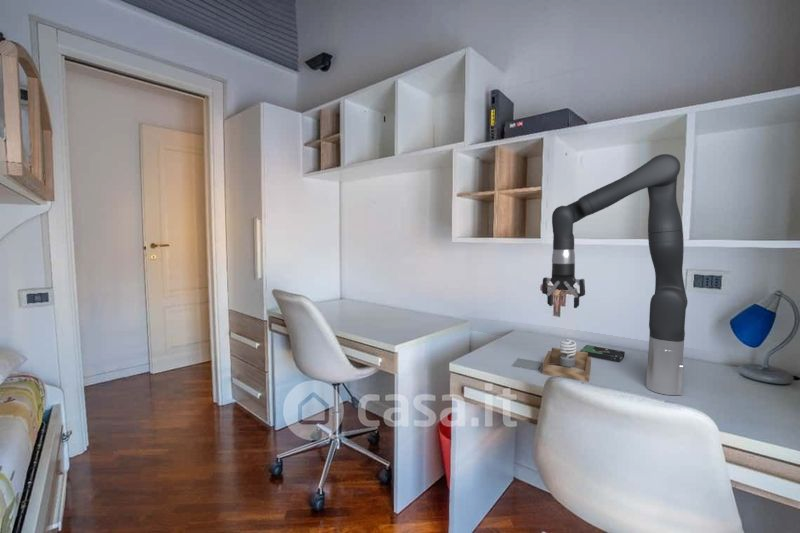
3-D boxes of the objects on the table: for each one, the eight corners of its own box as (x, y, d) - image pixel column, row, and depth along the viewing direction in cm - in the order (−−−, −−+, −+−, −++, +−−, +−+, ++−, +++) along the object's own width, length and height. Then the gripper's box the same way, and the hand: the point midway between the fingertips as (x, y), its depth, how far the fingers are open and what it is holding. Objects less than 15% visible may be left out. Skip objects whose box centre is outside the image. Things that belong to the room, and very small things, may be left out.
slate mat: (541, 363, 149) (541, 361, 149) (537, 370, 142) (538, 368, 141) (518, 359, 154) (518, 358, 154) (513, 366, 146) (513, 364, 146)
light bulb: (575, 374, 137) (577, 342, 136) (558, 372, 139) (560, 340, 138) (574, 369, 143) (576, 338, 142) (558, 367, 145) (560, 336, 144)
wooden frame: (590, 368, 144) (591, 352, 143) (588, 381, 131) (589, 364, 130) (548, 361, 151) (548, 347, 151) (542, 374, 138) (543, 357, 137)
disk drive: (624, 358, 159) (586, 350, 168) (625, 351, 159) (586, 344, 168) (619, 364, 151) (579, 356, 160) (620, 357, 151) (579, 349, 160)
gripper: (587, 262, 137) (586, 307, 138) (546, 261, 145) (545, 303, 146) (582, 263, 131) (581, 310, 132) (539, 262, 139) (539, 306, 140)
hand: (562, 306), depth 139 cm, fingers open, 8 cm apart
